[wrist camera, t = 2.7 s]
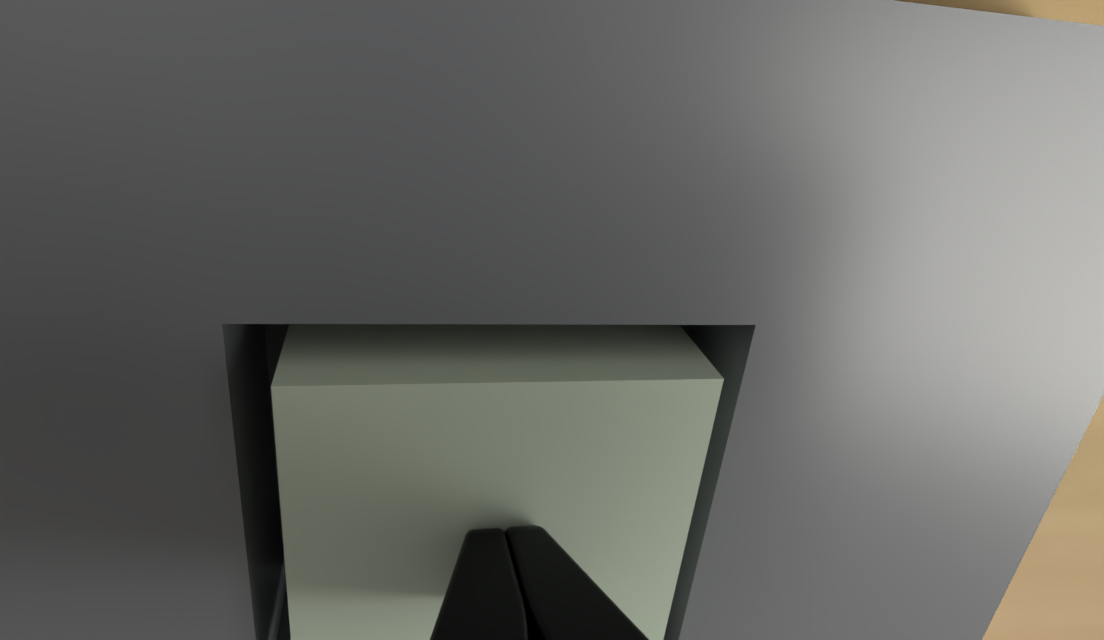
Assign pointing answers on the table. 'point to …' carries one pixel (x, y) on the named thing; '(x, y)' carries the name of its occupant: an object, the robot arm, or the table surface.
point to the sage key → (482, 461)
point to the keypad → (550, 278)
